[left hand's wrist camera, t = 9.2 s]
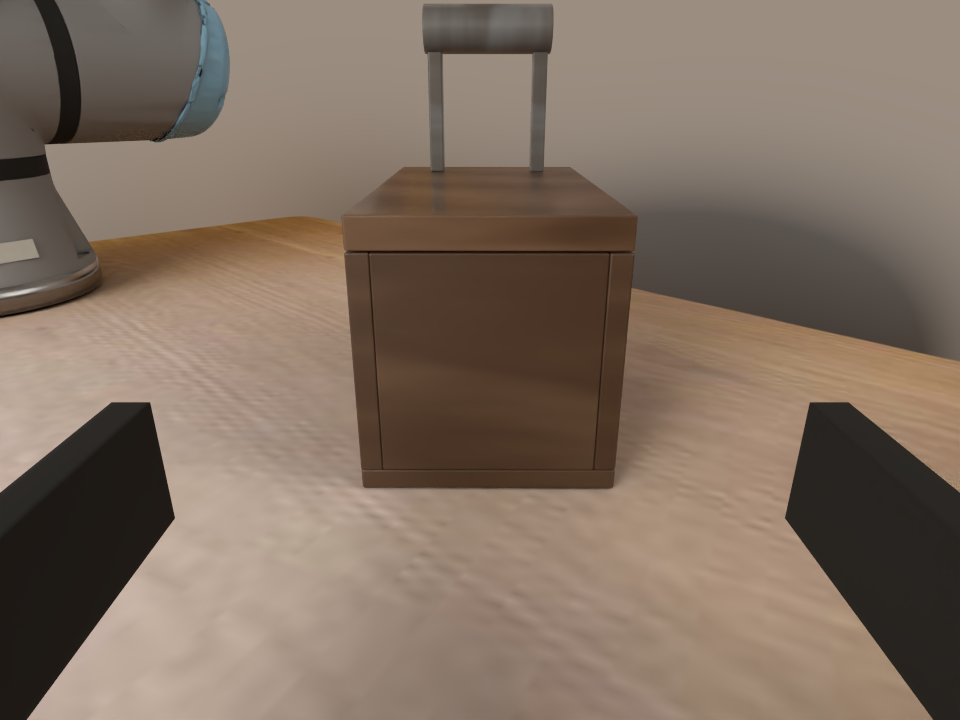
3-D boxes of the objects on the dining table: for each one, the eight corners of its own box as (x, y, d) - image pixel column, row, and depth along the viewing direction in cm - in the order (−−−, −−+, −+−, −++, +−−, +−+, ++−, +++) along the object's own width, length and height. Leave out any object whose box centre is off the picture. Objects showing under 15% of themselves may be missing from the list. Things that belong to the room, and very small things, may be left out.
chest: (408, 341, 39) (402, 190, 36) (563, 341, 39) (571, 191, 36) (362, 488, 24) (343, 253, 21) (613, 488, 24) (635, 253, 21)
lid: (403, 188, 36) (396, 10, 33) (569, 188, 36) (578, 10, 33) (343, 251, 21) (317, -74, 17) (635, 252, 21) (665, -74, 17)
